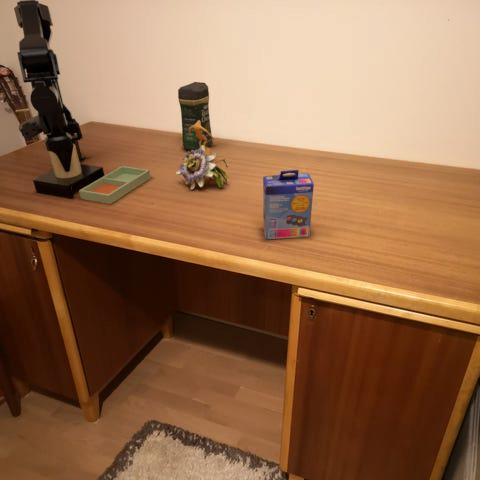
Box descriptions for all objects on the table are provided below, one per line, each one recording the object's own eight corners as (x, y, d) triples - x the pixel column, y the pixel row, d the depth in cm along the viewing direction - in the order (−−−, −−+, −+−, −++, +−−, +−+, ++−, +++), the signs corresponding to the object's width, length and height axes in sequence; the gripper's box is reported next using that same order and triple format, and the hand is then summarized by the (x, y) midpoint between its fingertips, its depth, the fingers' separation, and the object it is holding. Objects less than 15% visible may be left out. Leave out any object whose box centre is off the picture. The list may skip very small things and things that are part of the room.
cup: (67, 167, 128) (60, 141, 123) (86, 170, 125) (80, 144, 121) (49, 176, 123) (41, 149, 119) (69, 179, 121) (62, 152, 116)
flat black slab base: (72, 174, 133) (68, 162, 131) (105, 179, 129) (102, 166, 127) (36, 192, 123) (32, 180, 121) (71, 199, 119) (68, 186, 117)
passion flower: (195, 208, 124) (165, 172, 119) (213, 186, 131) (184, 151, 126) (223, 192, 117) (192, 153, 112) (240, 169, 123) (211, 131, 118)
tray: (123, 173, 132) (121, 165, 130) (150, 178, 129) (149, 169, 127) (81, 199, 119) (78, 190, 118) (110, 204, 116) (108, 195, 114)
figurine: (221, 160, 137) (218, 118, 130) (210, 167, 133) (206, 124, 126) (198, 156, 141) (194, 115, 133) (186, 163, 137) (182, 120, 129)
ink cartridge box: (265, 241, 98) (265, 174, 89) (262, 229, 102) (261, 164, 93) (311, 237, 98) (315, 170, 89) (306, 225, 103) (309, 160, 94)
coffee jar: (201, 153, 142) (195, 87, 131) (179, 150, 145) (172, 86, 134) (216, 144, 149) (212, 80, 138) (195, 141, 152) (190, 79, 141)
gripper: (15, 99, 118) (34, 160, 128) (13, 117, 104) (35, 184, 114) (60, 94, 121) (75, 154, 131) (64, 111, 107) (81, 177, 117)
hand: (66, 166), depth 123 cm, fingers closed on cup, 7 cm apart
